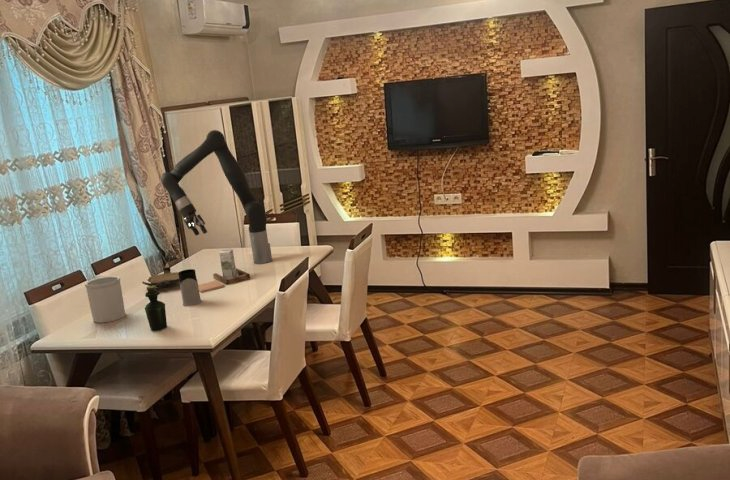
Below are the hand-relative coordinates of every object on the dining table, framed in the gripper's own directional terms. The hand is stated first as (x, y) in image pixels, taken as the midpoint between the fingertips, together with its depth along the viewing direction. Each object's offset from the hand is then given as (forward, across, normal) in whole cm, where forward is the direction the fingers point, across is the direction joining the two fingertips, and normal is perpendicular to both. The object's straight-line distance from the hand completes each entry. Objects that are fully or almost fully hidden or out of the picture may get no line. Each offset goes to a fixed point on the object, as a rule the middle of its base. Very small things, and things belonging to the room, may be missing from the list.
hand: (201, 233), depth 367 cm
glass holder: (+30, -38, +2) cm, 49 cm away
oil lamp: (+14, -9, +26) cm, 31 cm away
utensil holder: (+18, -57, +31) cm, 68 cm away
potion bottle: (+35, -73, +2) cm, 81 cm away
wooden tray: (+28, -4, -3) cm, 28 cm away
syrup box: (+27, -3, -2) cm, 28 cm away
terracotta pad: (+27, -18, +3) cm, 32 cm away
